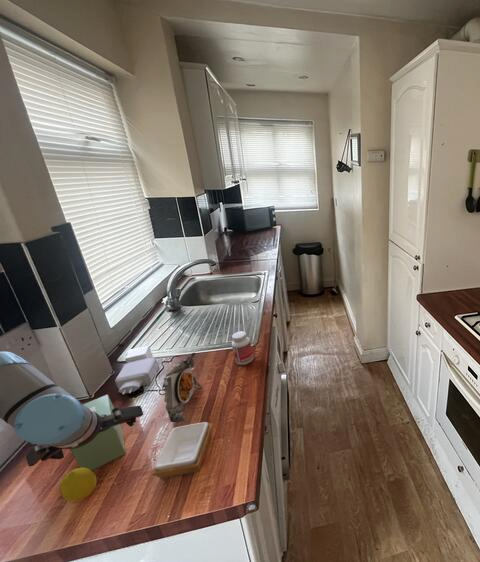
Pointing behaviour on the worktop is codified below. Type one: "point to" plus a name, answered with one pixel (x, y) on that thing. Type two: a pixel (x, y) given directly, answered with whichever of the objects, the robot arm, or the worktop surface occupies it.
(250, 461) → the worktop surface
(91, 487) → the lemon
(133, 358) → the white cube
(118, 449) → the tissue box
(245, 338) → the pill bottle
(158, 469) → the soap dish
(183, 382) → the meal
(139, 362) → the charger
